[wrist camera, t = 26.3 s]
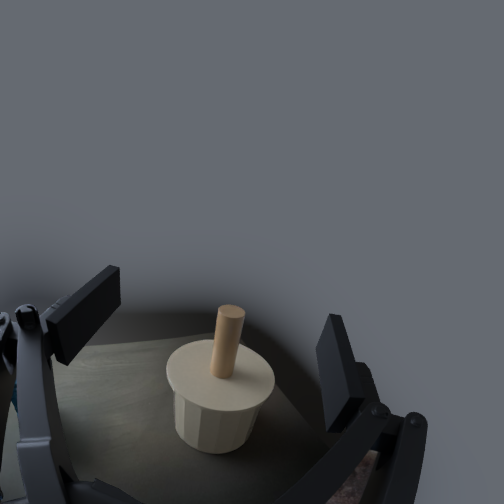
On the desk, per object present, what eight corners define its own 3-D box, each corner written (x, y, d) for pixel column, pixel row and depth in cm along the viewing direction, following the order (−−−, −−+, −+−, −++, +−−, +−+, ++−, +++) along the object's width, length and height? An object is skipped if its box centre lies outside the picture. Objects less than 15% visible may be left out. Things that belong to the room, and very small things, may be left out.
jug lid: (177, 423, 25) (180, 352, 22) (160, 347, 37) (163, 282, 34) (291, 406, 31) (316, 341, 28) (249, 343, 43) (263, 284, 40)
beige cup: (165, 441, 34) (161, 390, 30) (185, 387, 46) (188, 331, 41) (246, 460, 34) (266, 413, 29) (254, 402, 46) (270, 349, 41)
